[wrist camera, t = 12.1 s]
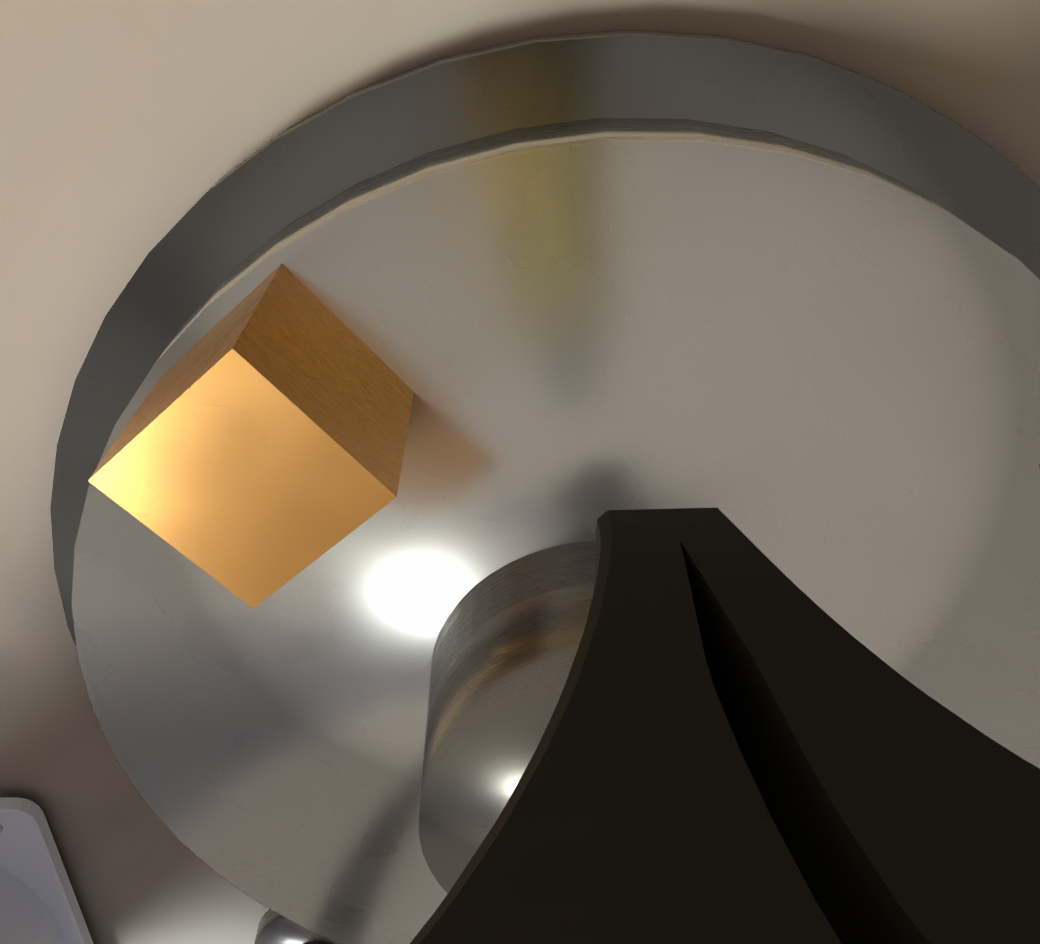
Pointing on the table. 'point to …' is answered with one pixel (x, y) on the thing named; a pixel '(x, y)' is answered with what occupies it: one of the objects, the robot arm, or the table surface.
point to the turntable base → (498, 108)
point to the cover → (496, 694)
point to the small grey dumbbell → (286, 932)
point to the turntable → (543, 464)
